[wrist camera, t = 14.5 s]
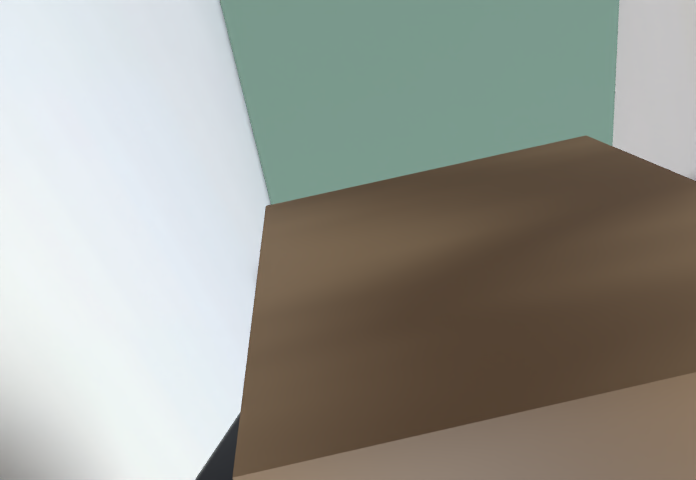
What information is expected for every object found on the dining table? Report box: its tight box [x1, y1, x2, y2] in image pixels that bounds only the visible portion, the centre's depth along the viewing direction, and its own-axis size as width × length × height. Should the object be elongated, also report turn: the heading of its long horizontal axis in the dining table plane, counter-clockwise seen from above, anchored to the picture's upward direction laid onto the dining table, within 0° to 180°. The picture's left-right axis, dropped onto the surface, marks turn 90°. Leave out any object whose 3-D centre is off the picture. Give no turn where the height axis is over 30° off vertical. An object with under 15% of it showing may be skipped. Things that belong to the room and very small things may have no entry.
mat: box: [220, 0, 619, 205], centre depth 16 cm, size 12×12×1 cm
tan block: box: [233, 136, 696, 480], centre depth 7 cm, size 5×5×5 cm
